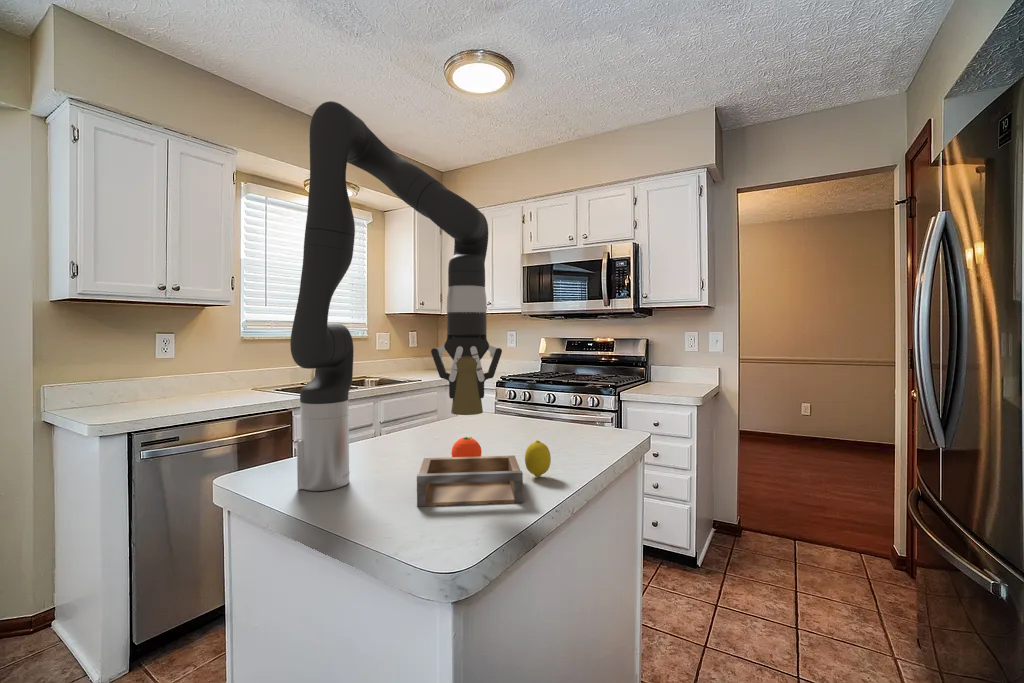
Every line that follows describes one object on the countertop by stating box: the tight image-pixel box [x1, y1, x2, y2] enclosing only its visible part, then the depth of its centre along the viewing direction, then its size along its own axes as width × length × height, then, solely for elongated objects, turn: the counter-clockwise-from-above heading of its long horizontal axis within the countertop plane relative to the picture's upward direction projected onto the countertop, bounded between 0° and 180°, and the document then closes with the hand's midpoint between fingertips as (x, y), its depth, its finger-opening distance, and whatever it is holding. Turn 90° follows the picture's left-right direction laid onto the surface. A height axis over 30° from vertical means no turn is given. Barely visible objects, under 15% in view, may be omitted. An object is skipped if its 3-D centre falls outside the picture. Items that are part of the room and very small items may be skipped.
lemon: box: [524, 439, 552, 478], centre depth 103 cm, size 6×6×8 cm
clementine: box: [451, 436, 482, 457], centre depth 112 cm, size 8×7×7 cm
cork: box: [450, 356, 483, 416], centre depth 92 cm, size 6×6×11 cm
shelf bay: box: [416, 455, 524, 508], centre depth 94 cm, size 19×14×6 cm
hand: (466, 400), depth 92 cm, fingers closed on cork, 4 cm apart
